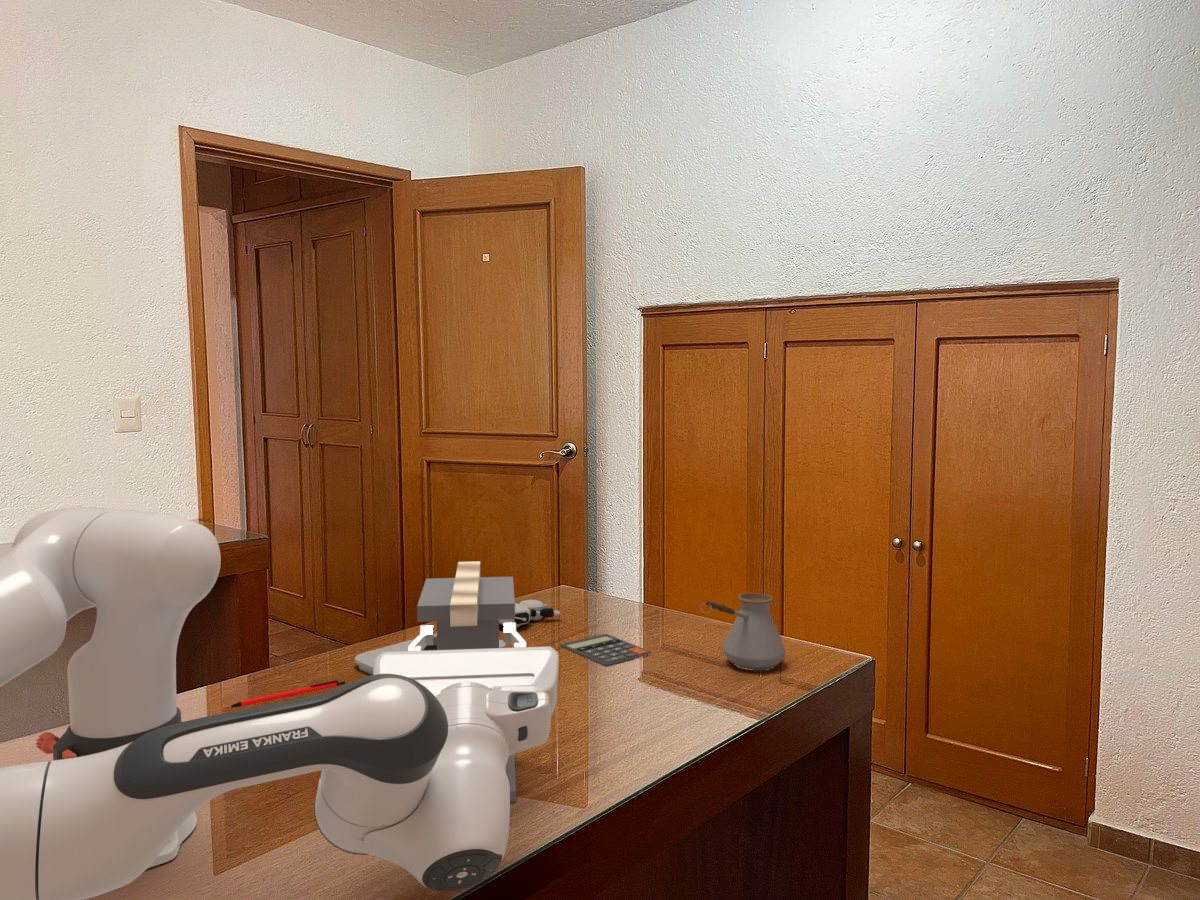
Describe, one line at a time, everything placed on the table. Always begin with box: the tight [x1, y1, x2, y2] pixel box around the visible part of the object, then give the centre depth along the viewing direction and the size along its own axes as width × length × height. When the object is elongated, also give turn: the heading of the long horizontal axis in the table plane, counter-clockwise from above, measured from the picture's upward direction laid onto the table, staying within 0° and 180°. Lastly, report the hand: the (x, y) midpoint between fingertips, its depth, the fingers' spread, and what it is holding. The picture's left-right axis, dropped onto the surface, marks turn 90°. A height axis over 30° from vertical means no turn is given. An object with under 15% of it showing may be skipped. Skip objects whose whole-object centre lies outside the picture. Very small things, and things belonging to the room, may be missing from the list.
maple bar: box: [450, 560, 481, 627], centre depth 113 cm, size 22×3×2 cm, turn 7°
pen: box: [229, 680, 346, 708], centre depth 150 cm, size 1×19×1 cm, turn 126°
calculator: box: [559, 633, 652, 668], centre depth 174 cm, size 12×1×15 cm
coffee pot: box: [700, 592, 786, 671], centre depth 162 cm, size 21×12×15 cm, turn 137°
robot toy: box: [499, 599, 561, 629], centre depth 192 cm, size 12×4×15 cm
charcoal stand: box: [416, 576, 517, 804], centre depth 119 cm, size 14×12×26 cm
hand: (468, 627), depth 103 cm, fingers open, 8 cm apart
